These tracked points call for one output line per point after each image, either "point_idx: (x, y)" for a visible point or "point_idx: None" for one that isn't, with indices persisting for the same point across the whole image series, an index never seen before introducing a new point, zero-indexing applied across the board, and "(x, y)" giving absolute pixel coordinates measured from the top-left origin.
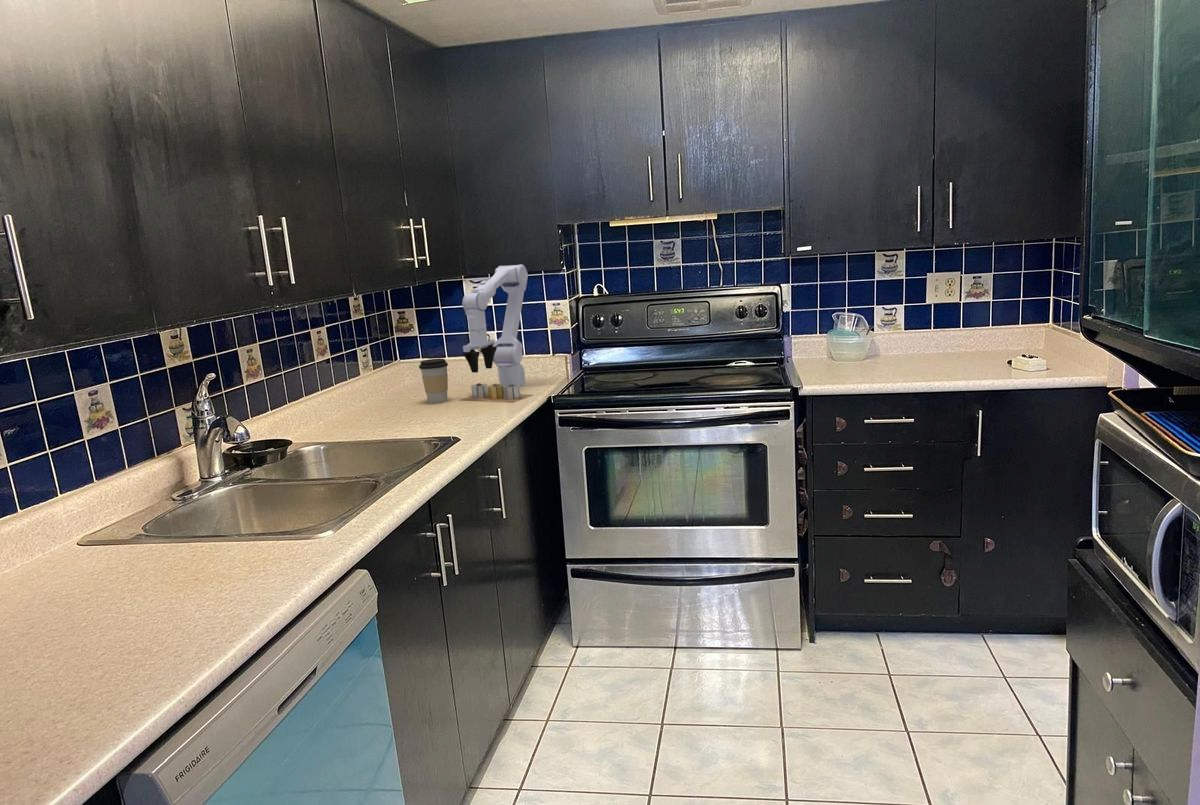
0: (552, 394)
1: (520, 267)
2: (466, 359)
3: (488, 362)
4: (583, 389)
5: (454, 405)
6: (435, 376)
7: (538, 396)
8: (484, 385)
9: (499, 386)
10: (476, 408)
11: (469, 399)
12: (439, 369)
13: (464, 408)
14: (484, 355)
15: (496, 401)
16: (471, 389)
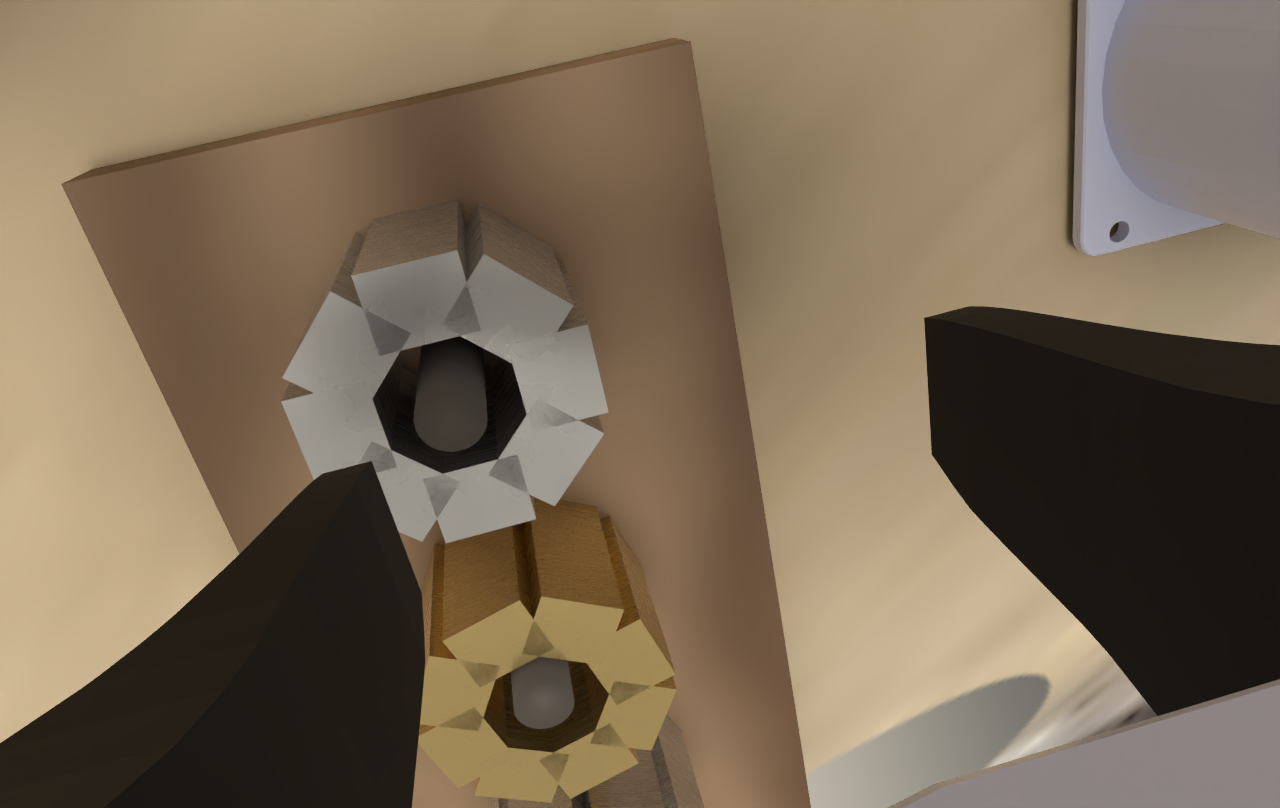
0: (1036, 731)
1: None
2: (33, 728)
3: (1020, 479)
4: None
5: (21, 126)
6: None
7: (926, 693)
8: (472, 529)
9: (515, 796)
10: (131, 614)
11: (232, 320)
12: None
13: (15, 474)
14: (1201, 460)
15: None
16: (323, 299)
